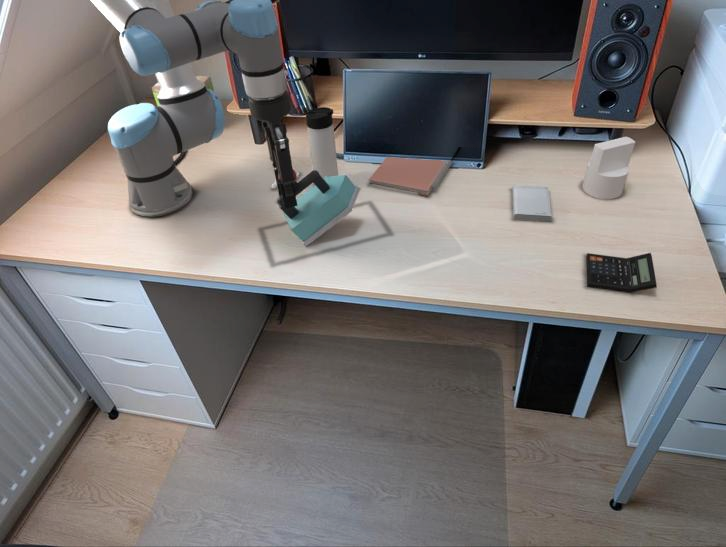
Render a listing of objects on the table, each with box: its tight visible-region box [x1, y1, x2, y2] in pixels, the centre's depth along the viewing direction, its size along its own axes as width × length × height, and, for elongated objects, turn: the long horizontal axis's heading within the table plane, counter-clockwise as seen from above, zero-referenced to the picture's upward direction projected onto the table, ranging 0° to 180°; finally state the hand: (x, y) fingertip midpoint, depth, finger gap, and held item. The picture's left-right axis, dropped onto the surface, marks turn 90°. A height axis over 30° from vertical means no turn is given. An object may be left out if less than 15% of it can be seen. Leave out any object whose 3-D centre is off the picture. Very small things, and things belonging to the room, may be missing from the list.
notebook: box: [368, 156, 455, 197], centre depth 137 cm, size 27×17×2 cm, turn 155°
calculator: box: [585, 252, 658, 294], centre depth 101 cm, size 9×12×3 cm
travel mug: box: [305, 106, 339, 178], centre depth 127 cm, size 6×7×20 cm
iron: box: [276, 168, 361, 248], centre depth 110 cm, size 17×9×16 cm, turn 109°
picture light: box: [270, 171, 300, 190], centre depth 133 cm, size 14×4×2 cm, turn 163°
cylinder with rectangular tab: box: [581, 136, 636, 200], centre depth 120 cm, size 9×9×12 cm
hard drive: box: [511, 184, 553, 223], centre depth 121 cm, size 2×8×12 cm
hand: (288, 200), depth 110 cm, fingers closed on iron, 4 cm apart
